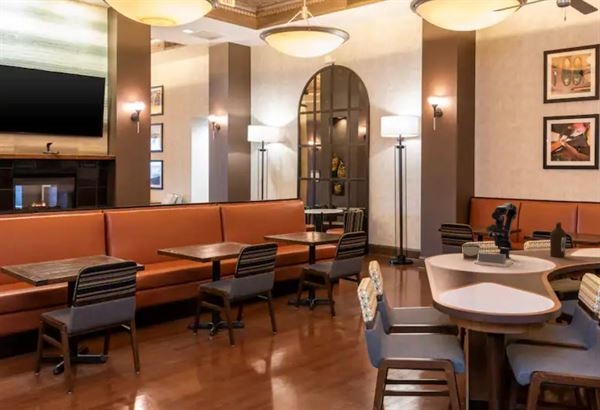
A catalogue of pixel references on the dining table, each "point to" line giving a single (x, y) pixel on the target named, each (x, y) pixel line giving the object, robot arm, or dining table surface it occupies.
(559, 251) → the olive oil
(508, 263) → the grey block on base
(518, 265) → the dining table surface
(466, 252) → the food container
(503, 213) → the robot arm
